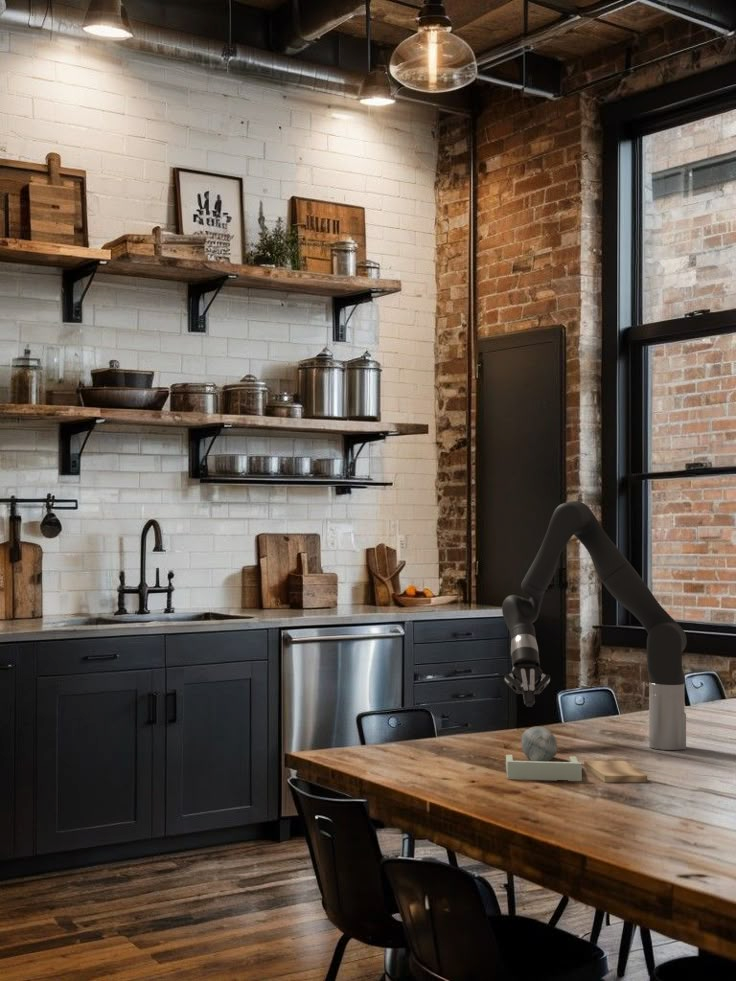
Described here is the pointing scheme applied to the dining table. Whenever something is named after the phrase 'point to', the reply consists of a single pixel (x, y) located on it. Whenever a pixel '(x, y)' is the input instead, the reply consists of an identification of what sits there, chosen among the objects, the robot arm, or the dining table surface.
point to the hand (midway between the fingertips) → (529, 704)
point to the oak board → (615, 771)
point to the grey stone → (539, 744)
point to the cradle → (544, 770)
